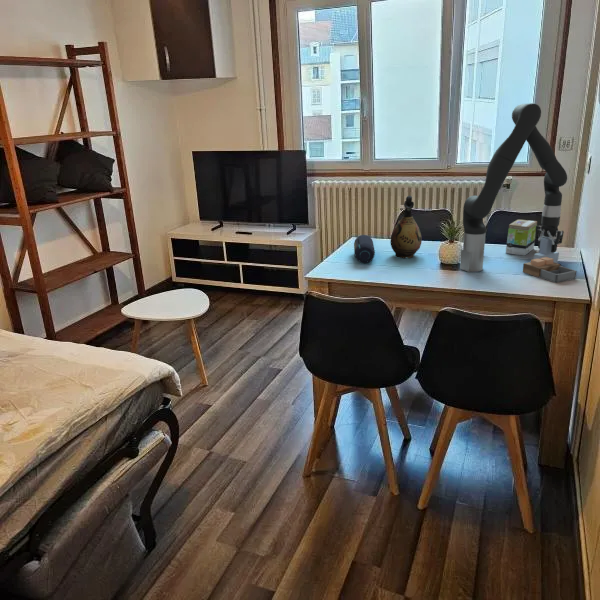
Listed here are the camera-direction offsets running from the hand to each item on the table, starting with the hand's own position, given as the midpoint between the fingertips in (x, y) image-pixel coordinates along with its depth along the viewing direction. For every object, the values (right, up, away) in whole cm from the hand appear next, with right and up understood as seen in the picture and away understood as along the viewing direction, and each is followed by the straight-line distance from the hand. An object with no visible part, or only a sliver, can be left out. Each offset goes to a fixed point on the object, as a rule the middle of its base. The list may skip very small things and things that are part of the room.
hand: (546, 250), depth 244 cm
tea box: (-3, +2, +24) cm, 24 cm away
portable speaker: (-82, -2, +24) cm, 85 cm away
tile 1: (-10, -8, -12) cm, 17 cm away
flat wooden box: (-7, -11, -10) cm, 16 cm away
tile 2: (-5, -7, -10) cm, 13 cm away
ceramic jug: (-60, -1, +25) cm, 65 cm away
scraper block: (0, -6, +2) cm, 6 cm away
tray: (-4, -14, -18) cm, 23 cm away
